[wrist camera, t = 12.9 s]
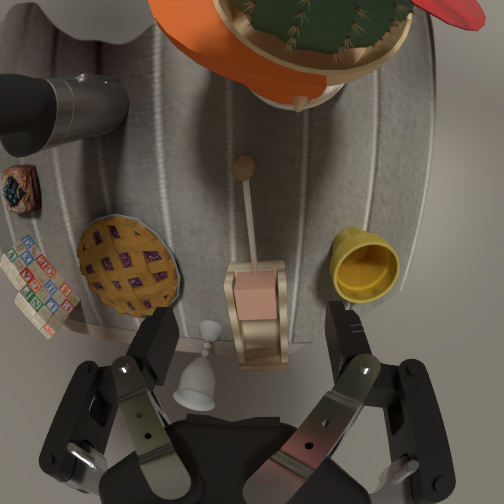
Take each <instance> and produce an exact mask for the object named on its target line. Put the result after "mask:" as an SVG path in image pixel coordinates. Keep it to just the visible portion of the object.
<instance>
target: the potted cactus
mask: <svg viewBox="0 0 504 504" xmlns="http://www.w3.org/2000/svg"><path fill="white" fill-rule="evenodd" d="M148 2H149V5H150V8H151V10H152V12H153V16H154V18H155V20H156V22H157V24H158V26H159V28H160V29H161V30H162V31H163V32H164V34H165V35H166V36H167V37H168V39H169V40H170V41H171V42H172V43H173V44H174V45H175V46H176V47H177V48H178V49H179V50H180V51H182V52H183V53H184V54H186V55H187V56H188V57H190V58H191V59H192V60H193V61H195V62H196V63H197V64H199V65H201V66H203V67H205V68H207V69H209V70H211V71H213V72H215V73H217V74H219V75H221V76H223V77H225V78H227V79H230V80H233V81H236V82H239V83H241V84H244V85H245V86H247V87H248V88H249V89H250V90H251V91H252V92H253V93H254V94H255V95H256V96H257V97H258V98H259V99H261V100H262V101H264V102H265V103H267V104H269V105H271V106H273V107H276V108H279V109H284V110H295V111H296V112H301V111H302V110H303V109H308V108H312V107H315V106H318V105H320V104H322V103H324V102H326V101H327V100H329V99H330V98H331V97H333V96H334V95H335V94H336V93H337V92H338V91H339V90H340V89H341V88H342V86H343V85H344V84H345V83H348V82H352V81H355V80H357V79H359V78H361V77H363V76H365V75H367V74H369V73H372V72H373V71H375V70H377V69H378V68H379V67H380V66H382V65H383V64H384V63H385V62H386V61H387V60H389V59H390V58H391V57H392V56H393V55H394V54H395V53H396V52H397V50H398V49H399V47H400V46H401V45H402V43H403V42H404V40H405V39H406V37H407V34H408V31H409V28H410V25H412V24H411V23H412V20H411V18H412V13H413V14H414V15H415V16H416V14H415V13H417V14H418V11H415V12H414V10H412V9H413V7H414V5H415V6H417V7H418V8H420V9H422V10H424V11H426V12H427V13H429V14H431V15H433V16H434V17H436V18H438V19H440V20H442V21H443V22H445V23H447V24H449V25H452V26H455V27H459V28H461V29H464V30H471V31H478V30H479V29H481V27H483V26H484V25H485V17H486V16H485V14H484V12H483V10H482V8H481V6H480V5H479V3H478V2H477V1H476V0H148ZM421 13H422V12H421ZM421 13H419V14H420V15H421ZM423 15H424V14H423ZM423 15H422V16H423ZM417 16H418V15H417ZM418 18H419V17H418ZM420 18H421V17H420ZM420 18H419V19H420ZM420 20H421V19H420ZM423 20H424V19H423ZM414 23H415V21H414ZM414 23H413V24H414ZM416 24H417V23H416ZM412 26H413V25H412ZM413 27H414V26H413Z"/></svg>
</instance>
